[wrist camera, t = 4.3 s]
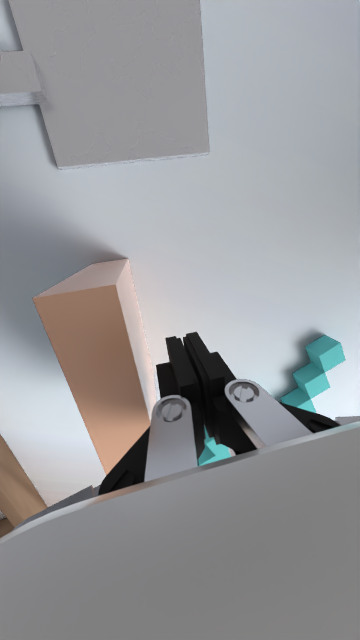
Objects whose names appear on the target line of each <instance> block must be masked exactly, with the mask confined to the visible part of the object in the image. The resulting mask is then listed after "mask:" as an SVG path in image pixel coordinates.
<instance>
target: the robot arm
mask: <svg viewBox="0 0 360 640" xmlns="http://www.w3.org/2000/svg"><path fill="white" fill-rule="evenodd" d="M183 342H184V346H183V343H182V341H181V339H180V338H176V336H173V337H169V338H166V344H167V350H168V355H169V361H170V362H168V363H163V364H158V365H156V369H157V376H158V383H159V390H160V397H161V399H160V400H159V401H158V402H156V404H155V405H154V407H153V410H152V415H151V424H150V426H149V428H148V429H147V430H146V431H145V432H144V433H143V434H142V435H141V437H140V438H139V439H138V440H137V441H136V442H135V443H134V445H133V446H132V447H131V448H130V449H129V450H128V451H127V453H126V454H125V455H124V456H123V457H122V458H121V459H120V461H119V462H118V463H117V464H116V465H115V466H114V467H113V469H112V470H111V471H110V472H109V473H108V474H107V476H106V477H105V478H104V480H103V481H102V483H101V485H99V486H97V487H95V488H93V486H92V485H91V486H89V487H87V488H85V489H83V490H81V491H79V492H78V493H76V494H74V495H72V496H70V497H68V498H66V499H64V500H62V501H60V502H58V503H56V504H54V505H52V506H50V507H48V508H46V509H44V510H43V511H41V512H39V513H37V514H35V515H33V516H31V517H29V518H27V519H26V520H24V521H23V522H21V523H20V524H18V525H17V526H16V527H15V528H14V529H13V530H12V531H11V532H10V533H8V534H6V535H5V536H3V537H2V538H0V640H360V416H352V417H335V421H333V420H332V419H330V418H328V417H326V416H323V415H320V414H317V413H314V412H310V411H307V410H304V409H301V408H298V407H294V406H291V405H288V404H285V403H281V402H278V401H276V400H275V399H274V398H273V397H272V396H271V395H270V394H269V393H268V392H267V391H265V390H264V389H263V388H262V387H261V386H260V385H259V384H257V383H256V382H253V381H251V380H247V379H236V378H235V376H234V375H233V373H232V372H231V371H230V369H229V368H228V366H227V365H226V363H225V362H224V361H223V359H222V358H221V356H220V355H219V353H218V352H213V353H210V352H209V351H208V349H207V348H206V346H205V344H204V343H203V341H202V340H201V338H200V336H199V335H198V333H197V332H193V333H188V334H186V337H183ZM204 425H205V427H204ZM205 428H206V431H207V433H208V436H209V438H212V437H214V440H215V443H216V445H219V444H222V445H224V446H226V447H228V449H229V453H230V455H231V457H229V458H226V459H222V460H219V461H215V462H212V463H208V464H205V465H201V466H199V458H200V456H201V454H202V452H203V450H204V449H205V443H204V439H206V435H205Z"/></svg>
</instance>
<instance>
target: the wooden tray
mask: <svg viewBox="0 0 360 640" xmlns="http://www.w3.org/2000/svg"><path fill="white" fill-rule="evenodd" d="M46 508H48V507H47V506H46V504H45V503H44V501H43V499H42V498H41V496H40V495H39V493H38V492H37V490H36V489H35V487H34V486H33V484H32V482H31V481H30V479H29V478H28V476H27V475H26V473H25V472H24V470H23V469H22V467H21V465H20V464H19V462H18V461H17V459H16V458H15V456H14V455H13V453H12V452H11V450H10V448H9V447H8V445H7V444H6V442H5V441H4V439H3V438H2V436H1V435H0V510H1V511H2V512H3V513H4V515H5V516H6V517H7V518H6V519H2V520H0V538H2V537H3V536H5V535H6V534H8V533H10V532H11V531H12V530H13V529H14V528H15V527H16V526H17V525H18V524H20V523H21V522H23V521H24V520H26V519H27V518H29V517H31V516H33V515H35V514H37V513H39V512H41V511H43V510H44V509H46Z"/></svg>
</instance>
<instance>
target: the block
mask: <svg viewBox="0 0 360 640" xmlns="http://www.w3.org/2000/svg"><path fill="white" fill-rule="evenodd" d="M32 299H33V301H34V304H35V306H36V308H37V311H38V313H39V316H40V318H41V320H42V323H43V325H44V328H45V330H46V332H47V335H48V337H49V340H50V342H51V344H52V347H53V349H54V351H55V354H56V356H57V359H58V361H59V363H60V366H61V368H62V371H63V373H64V375H65V378H66V380H67V383H68V385H69V387H70V390H71V392H72V395H73V397H74V399H75V402H76V404H77V406H78V409H79V411H80V414H81V416H82V418H83V421H84V423H85V426H86V428H87V430H88V433H89V435H90V438H91V440H92V442H93V445H94V447H95V450H96V452H97V454H98V457H99V459H100V462H101V464H102V466H103V469H104V471H105V473H106V476H107V474H108V473H109V472H110V471H111V470H112V469H113V467H114V466H115V465H116V464H117V463H118V462H119V461H120V459H121V458H122V457H123V456H124V455H125V454H126V453H127V451H128V450H129V449H130V448H131V447H132V446H133V445H134V443H135V442H136V441H137V440H138V439H139V438H140V437H141V435H142V434H143V433H144V432H145V431H146V430H147V429H148V428H149V426H150V424H151V415H152V410H153V407H154V405H155V404H156V402H157V401H156V392H155V383H154V374H153V369H152V364H151V360H150V355H149V351H148V346H147V342H146V337H145V332H144V328H143V323H142V319H141V314H140V310H139V305H138V300H137V296H136V291H135V287H134V282H133V277H132V273H131V268H130V264H129V259H128V258H127V259H120V260H114V261H107V262H101V263H94V264H91V265H89V266H87V267H86V268H84V269H82V270H80V271H79V272H77V273H75V274H73V275H72V276H70V277H68V278H66V279H65V280H63V281H61V282H59V283H58V284H56V285H54V286H53V287H51V288H49V289H47V290H46V291H44V292H42V293H40V294H39V295H37V296H35V297H33V298H32Z"/></svg>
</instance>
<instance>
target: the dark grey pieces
mask: <svg viewBox="0 0 360 640" xmlns="http://www.w3.org/2000/svg"><path fill="white" fill-rule="evenodd" d="M8 1H9V4H10V7H11V11H12V14H13V18H14V21H15V24H16V28H17V31H18V35H19V38H20V41H21V45H22V48H23V51H4V52H0V107H1V106H17V105H32V104H39V106H40V109H41V112H42V116H43V119H44V123H45V126H46V129H47V133H48V136H49V139H50V143H51V146H52V150H53V153H54V156H55V160H56V163H57V167H58V168H59V169H60V170H64V169H74V168H84V167H93V166H103V165H113V164H123V163H133V162H143V161H153V160H163V159H173V158H183V157H193V156H202V155H208V153H209V137H208V121H207V106H206V90H205V74H204V58H203V42H202V26H201V11H200V0H8Z"/></svg>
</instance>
